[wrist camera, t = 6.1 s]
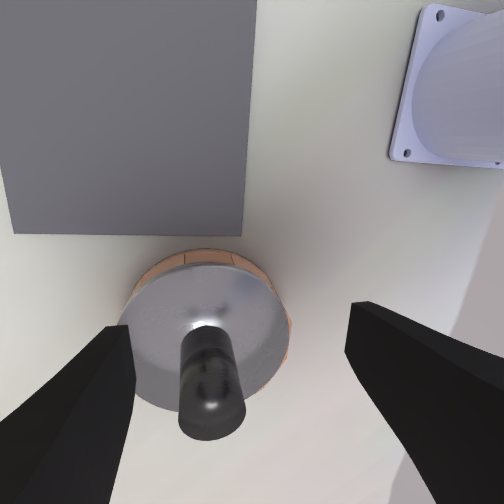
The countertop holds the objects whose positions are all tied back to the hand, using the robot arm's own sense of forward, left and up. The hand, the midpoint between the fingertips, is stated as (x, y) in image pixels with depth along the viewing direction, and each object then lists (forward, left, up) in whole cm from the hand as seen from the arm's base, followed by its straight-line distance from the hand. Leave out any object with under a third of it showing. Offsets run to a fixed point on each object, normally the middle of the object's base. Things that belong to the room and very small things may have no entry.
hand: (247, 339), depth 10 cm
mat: (+5, -7, -10) cm, 13 cm away
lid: (+1, +5, -7) cm, 8 cm away
